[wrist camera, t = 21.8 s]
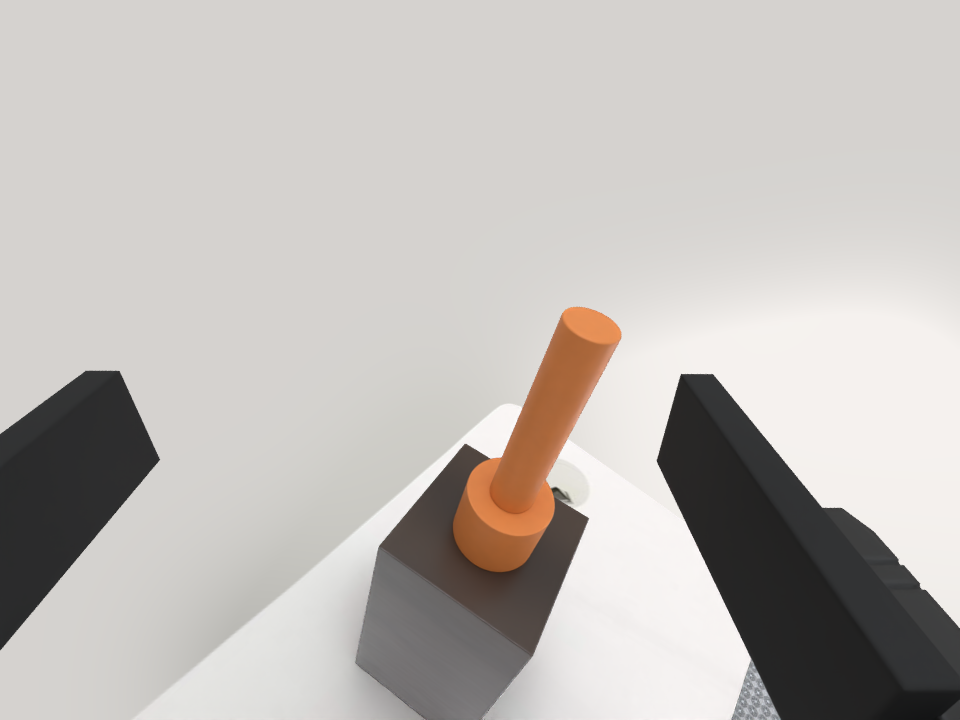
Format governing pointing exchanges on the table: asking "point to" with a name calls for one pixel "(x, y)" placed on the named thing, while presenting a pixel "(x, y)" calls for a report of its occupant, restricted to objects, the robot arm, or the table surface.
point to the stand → (457, 605)
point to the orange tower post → (534, 447)
